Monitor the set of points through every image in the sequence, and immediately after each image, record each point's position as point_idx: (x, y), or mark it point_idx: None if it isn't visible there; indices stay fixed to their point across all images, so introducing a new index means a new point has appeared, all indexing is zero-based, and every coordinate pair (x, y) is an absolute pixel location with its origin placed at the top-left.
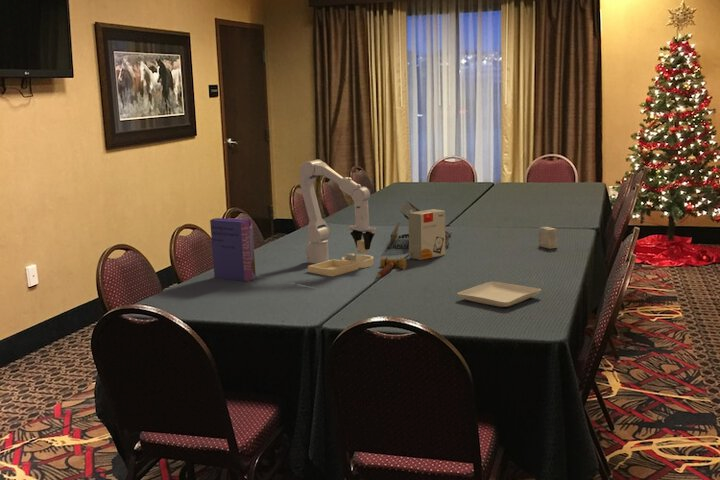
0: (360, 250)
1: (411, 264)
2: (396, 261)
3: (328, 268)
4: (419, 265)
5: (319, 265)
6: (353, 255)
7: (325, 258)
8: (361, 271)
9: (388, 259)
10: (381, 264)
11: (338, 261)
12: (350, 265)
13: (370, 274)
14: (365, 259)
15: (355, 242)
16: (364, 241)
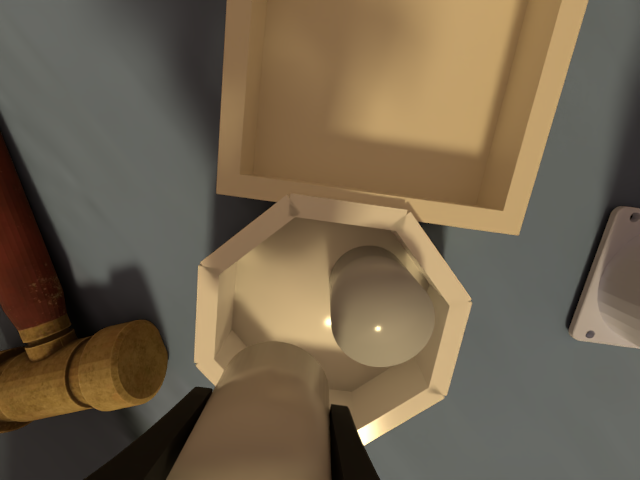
0: (256, 354)
1: (66, 463)
2: (1, 374)
3: (468, 100)
4: (11, 460)
5: (548, 7)
6: (335, 300)
7: (634, 283)
8: (202, 180)
9: (61, 379)
10: (121, 324)
11: (442, 202)
12: (222, 87)
13: (81, 129)
14: None
15: (360, 463)
16: (144, 469)
